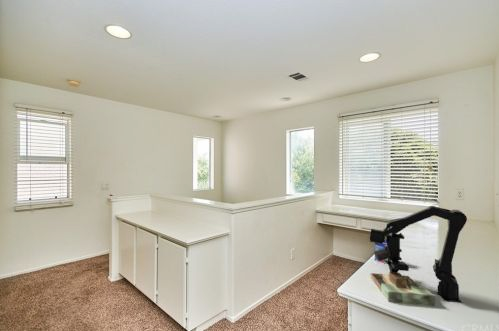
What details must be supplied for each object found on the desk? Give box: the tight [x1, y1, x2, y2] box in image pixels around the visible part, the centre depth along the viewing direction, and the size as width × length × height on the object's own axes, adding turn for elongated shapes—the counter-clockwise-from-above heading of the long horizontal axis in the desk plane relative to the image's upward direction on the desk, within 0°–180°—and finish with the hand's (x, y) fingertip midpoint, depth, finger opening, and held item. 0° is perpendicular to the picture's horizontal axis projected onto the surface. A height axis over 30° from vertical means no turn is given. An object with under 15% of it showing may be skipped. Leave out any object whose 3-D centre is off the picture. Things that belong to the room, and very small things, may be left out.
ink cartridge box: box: [374, 238, 388, 265], centre depth 144 cm, size 10×6×14 cm, turn 40°
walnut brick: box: [388, 271, 406, 288], centre depth 111 cm, size 4×7×4 cm, turn 171°
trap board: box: [370, 272, 436, 307], centre depth 110 cm, size 18×22×4 cm
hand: (392, 276), depth 117 cm, fingers closed
